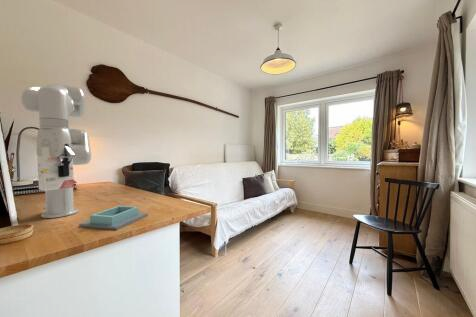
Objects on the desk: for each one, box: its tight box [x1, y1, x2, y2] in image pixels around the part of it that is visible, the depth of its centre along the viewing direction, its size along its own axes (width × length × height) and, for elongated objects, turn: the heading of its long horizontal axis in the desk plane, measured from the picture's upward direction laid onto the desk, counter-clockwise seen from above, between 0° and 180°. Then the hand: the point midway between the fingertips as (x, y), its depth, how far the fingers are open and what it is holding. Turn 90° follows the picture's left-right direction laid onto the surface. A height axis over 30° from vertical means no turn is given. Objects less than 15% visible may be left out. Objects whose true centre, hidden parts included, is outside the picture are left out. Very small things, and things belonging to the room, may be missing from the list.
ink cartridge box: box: [36, 147, 75, 192], centre depth 72 cm, size 9×5×15 cm, turn 149°
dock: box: [78, 205, 149, 231], centre depth 83 cm, size 17×17×4 cm
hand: (56, 175), depth 72 cm, fingers closed on ink cartridge box, 6 cm apart
